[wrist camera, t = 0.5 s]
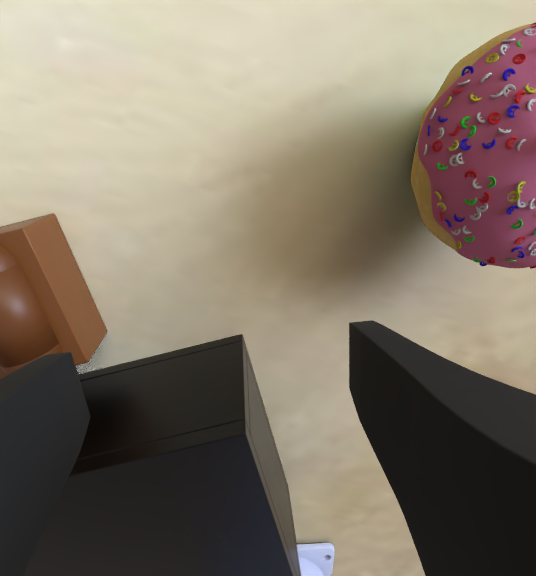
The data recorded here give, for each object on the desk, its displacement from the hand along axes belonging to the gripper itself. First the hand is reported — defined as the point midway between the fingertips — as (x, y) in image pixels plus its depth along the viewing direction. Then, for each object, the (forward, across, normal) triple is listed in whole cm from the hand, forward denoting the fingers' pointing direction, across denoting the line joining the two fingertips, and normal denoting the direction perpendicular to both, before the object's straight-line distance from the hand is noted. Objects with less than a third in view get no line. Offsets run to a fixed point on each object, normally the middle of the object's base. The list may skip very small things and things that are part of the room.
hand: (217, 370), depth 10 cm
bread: (+10, +9, +1) cm, 14 cm away
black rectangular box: (+10, +5, +11) cm, 16 cm away
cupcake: (+10, -12, -4) cm, 16 cm away
